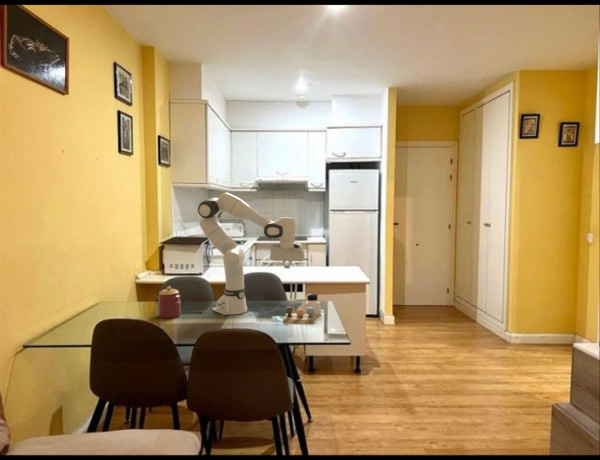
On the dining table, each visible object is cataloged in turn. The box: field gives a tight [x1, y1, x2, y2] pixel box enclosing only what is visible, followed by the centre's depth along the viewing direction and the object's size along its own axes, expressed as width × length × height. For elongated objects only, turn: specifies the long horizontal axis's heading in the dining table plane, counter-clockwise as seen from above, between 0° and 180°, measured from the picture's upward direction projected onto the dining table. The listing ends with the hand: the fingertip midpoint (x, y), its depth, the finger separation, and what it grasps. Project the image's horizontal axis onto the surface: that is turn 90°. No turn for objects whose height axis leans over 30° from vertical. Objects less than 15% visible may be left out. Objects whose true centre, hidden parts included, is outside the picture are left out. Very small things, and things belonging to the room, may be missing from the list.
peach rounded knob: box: [295, 308, 304, 317], centre depth 224 cm, size 4×4×5 cm
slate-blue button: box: [307, 307, 314, 317], centre depth 222 cm, size 4×4×5 cm
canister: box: [157, 285, 182, 320], centre depth 234 cm, size 13×13×18 cm
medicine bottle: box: [303, 293, 322, 316], centre depth 235 cm, size 7×7×12 cm
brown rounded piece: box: [285, 305, 294, 317], centre depth 224 cm, size 4×4×5 cm
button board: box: [282, 312, 317, 324], centre depth 224 cm, size 17×12×2 cm
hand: (287, 268), depth 232 cm, fingers closed
